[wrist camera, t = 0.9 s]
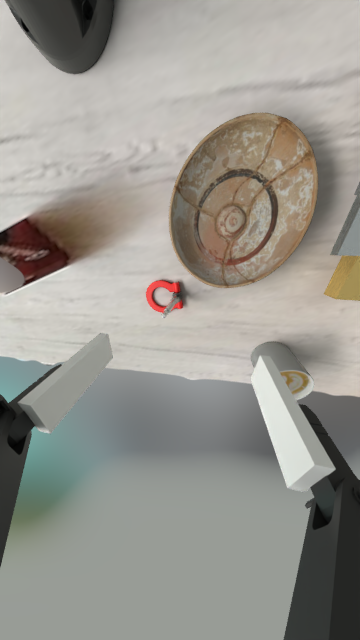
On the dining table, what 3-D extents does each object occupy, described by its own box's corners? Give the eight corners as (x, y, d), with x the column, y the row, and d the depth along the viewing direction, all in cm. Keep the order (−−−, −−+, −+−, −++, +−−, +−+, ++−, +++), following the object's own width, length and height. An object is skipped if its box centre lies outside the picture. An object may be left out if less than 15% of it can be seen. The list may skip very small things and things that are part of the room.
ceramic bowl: (326, 219, 26) (351, 213, 22) (221, 302, 36) (223, 310, 32) (249, 87, 21) (261, 45, 17) (151, 226, 31) (142, 222, 27)
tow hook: (152, 312, 41) (184, 309, 38) (128, 337, 29) (172, 336, 27) (144, 282, 37) (179, 277, 35) (114, 297, 26) (162, 292, 24)
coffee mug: (255, 340, 39) (269, 367, 30) (295, 343, 38) (323, 373, 29) (245, 375, 45) (254, 407, 36) (279, 379, 44) (298, 413, 35)
